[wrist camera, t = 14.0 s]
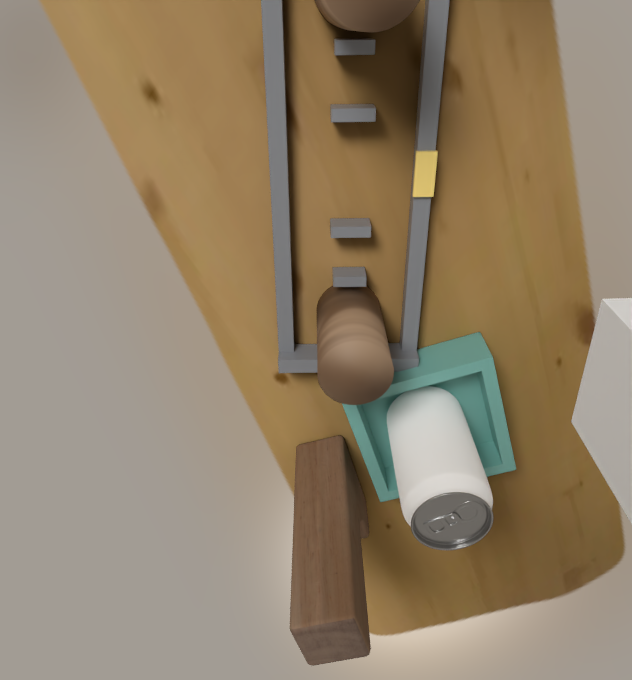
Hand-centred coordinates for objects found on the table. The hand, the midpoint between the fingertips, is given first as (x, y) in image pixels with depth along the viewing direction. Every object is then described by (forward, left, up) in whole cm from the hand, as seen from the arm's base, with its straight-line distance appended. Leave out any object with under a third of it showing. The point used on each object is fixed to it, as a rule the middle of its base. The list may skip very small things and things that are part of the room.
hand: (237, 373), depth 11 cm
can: (+19, +18, -30) cm, 41 cm away
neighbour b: (+13, +9, -31) cm, 35 cm away
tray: (+19, +19, -31) cm, 41 cm away
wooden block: (+29, +14, -31) cm, 45 cm away
